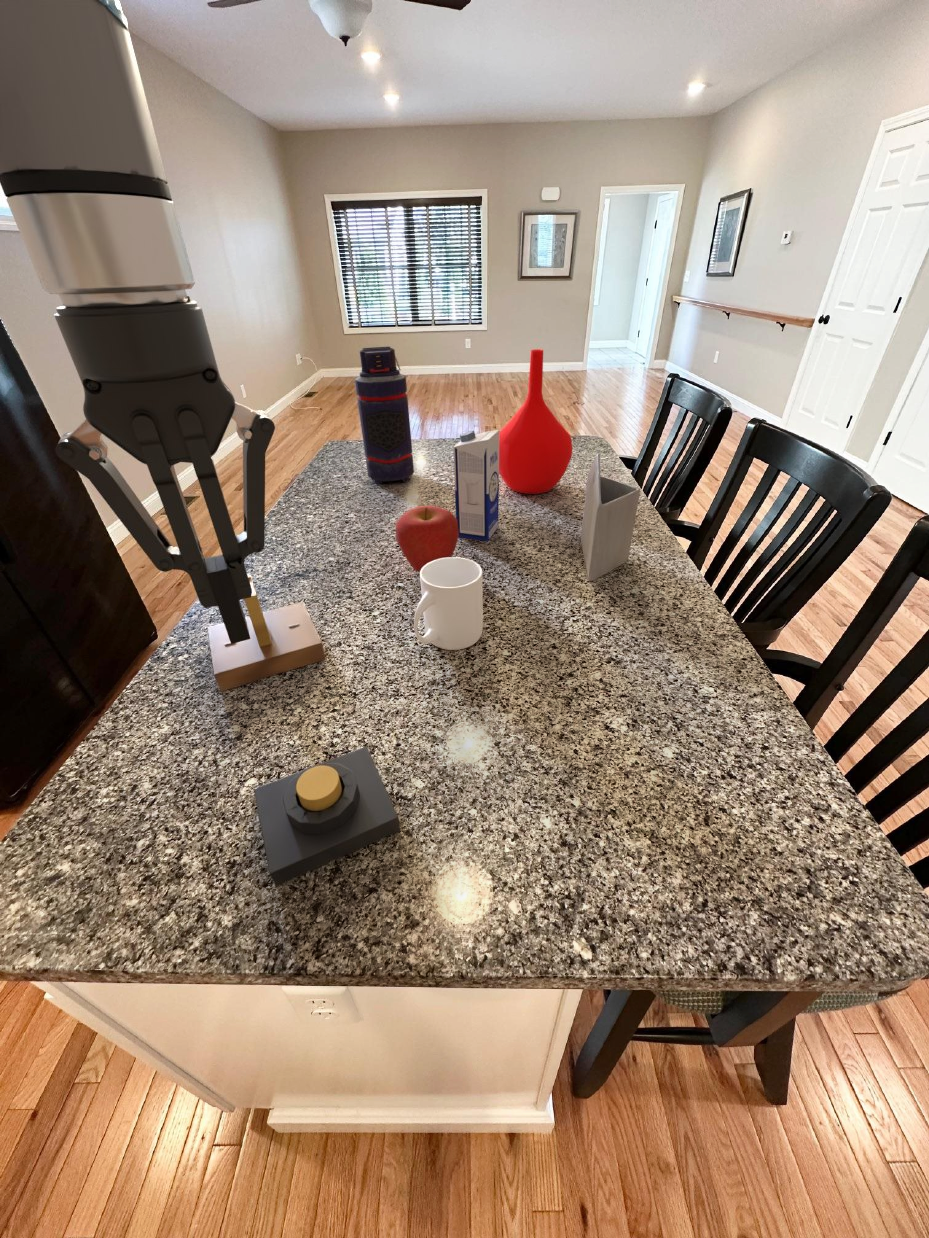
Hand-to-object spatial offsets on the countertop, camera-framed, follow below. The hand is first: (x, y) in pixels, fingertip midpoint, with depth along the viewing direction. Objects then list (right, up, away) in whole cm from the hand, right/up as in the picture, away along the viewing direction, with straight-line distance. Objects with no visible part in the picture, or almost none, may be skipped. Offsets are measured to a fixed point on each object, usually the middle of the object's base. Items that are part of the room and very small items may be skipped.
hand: (239, 632), depth 43 cm
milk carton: (+21, +19, +63) cm, 69 cm away
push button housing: (+5, -19, +9) cm, 22 cm away
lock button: (+5, -16, +7) cm, 18 cm away
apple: (+12, +10, +50) cm, 52 cm away
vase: (+35, +33, +83) cm, 96 cm away
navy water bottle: (0, +38, +92) cm, 99 cm away
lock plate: (-10, -4, +32) cm, 34 cm away
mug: (+16, -2, +33) cm, 37 cm away
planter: (+45, +12, +52) cm, 69 cm away
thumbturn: (-10, -1, +30) cm, 32 cm away
